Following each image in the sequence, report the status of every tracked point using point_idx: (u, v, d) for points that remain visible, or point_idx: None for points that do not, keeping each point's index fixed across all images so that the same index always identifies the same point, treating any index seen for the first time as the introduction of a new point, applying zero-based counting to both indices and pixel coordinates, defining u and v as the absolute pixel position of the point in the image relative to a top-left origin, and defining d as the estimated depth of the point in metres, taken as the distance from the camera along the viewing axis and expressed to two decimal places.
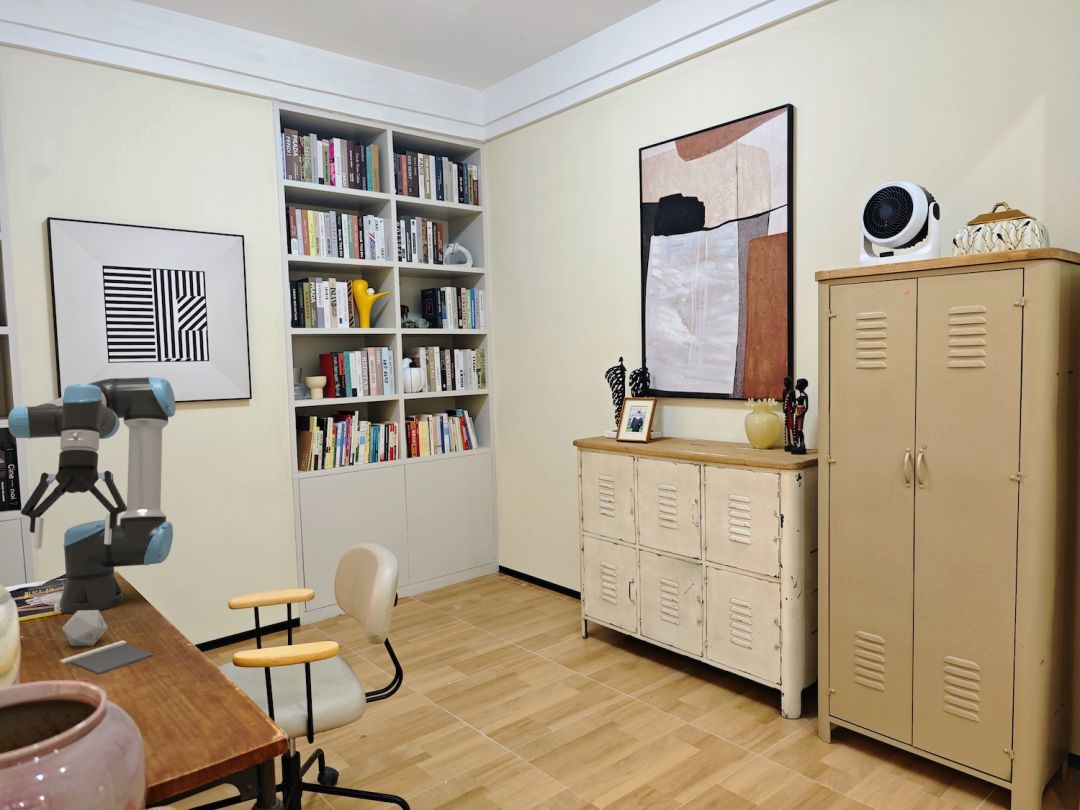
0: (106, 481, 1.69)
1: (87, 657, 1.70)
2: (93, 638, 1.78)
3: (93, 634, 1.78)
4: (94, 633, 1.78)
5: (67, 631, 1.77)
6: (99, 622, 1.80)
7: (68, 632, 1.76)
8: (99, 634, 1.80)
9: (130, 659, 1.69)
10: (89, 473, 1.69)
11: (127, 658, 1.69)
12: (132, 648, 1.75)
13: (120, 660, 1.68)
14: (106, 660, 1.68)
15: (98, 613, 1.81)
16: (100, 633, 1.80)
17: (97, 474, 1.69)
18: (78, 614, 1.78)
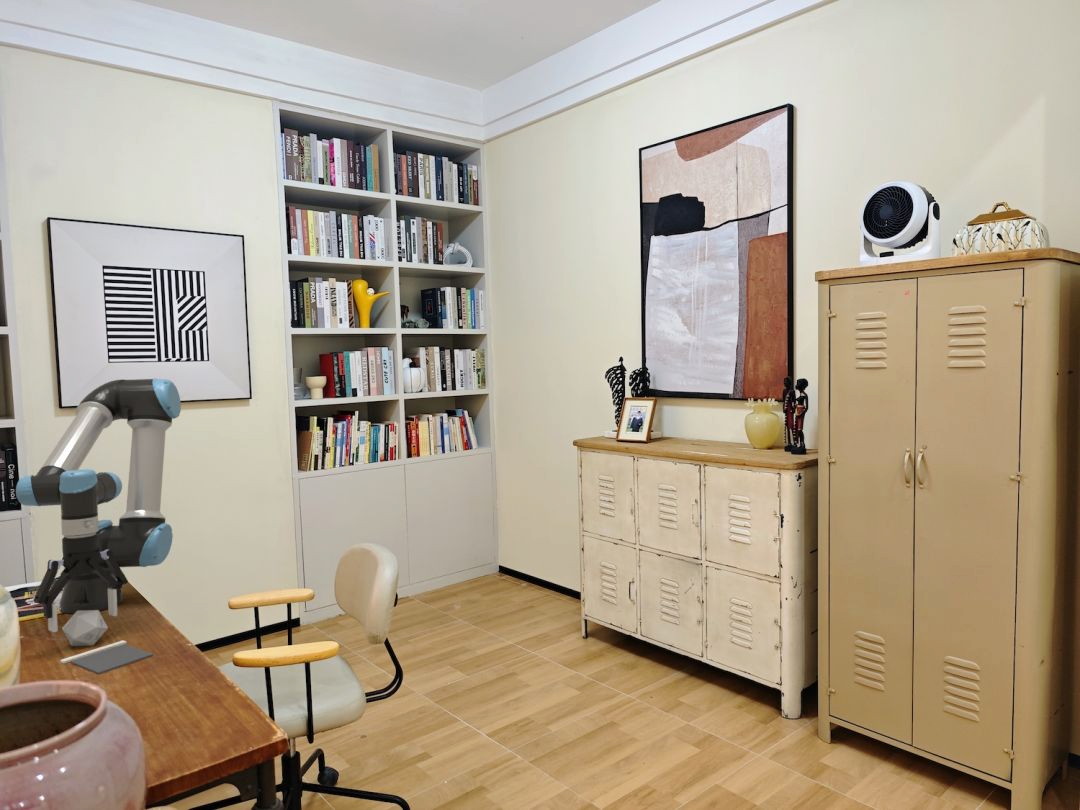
0: (110, 560, 1.84)
1: (87, 657, 1.70)
2: (93, 638, 1.78)
3: (93, 634, 1.78)
4: (94, 633, 1.78)
5: (67, 631, 1.77)
6: (99, 622, 1.80)
7: (68, 632, 1.76)
8: (99, 634, 1.80)
9: (130, 659, 1.69)
10: (95, 555, 1.81)
11: (127, 658, 1.69)
12: (132, 648, 1.75)
13: (120, 660, 1.68)
14: (106, 660, 1.68)
15: (98, 613, 1.81)
16: (100, 633, 1.80)
17: (100, 554, 1.82)
18: (78, 614, 1.78)
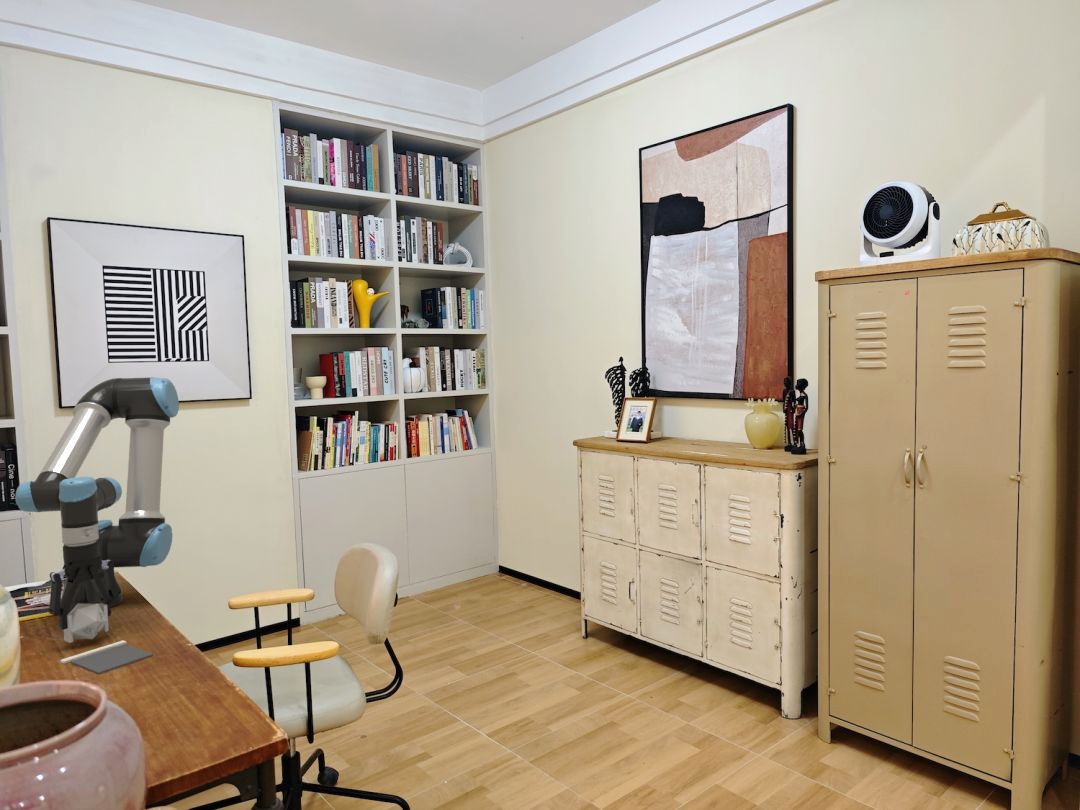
0: (109, 570, 1.84)
1: (87, 657, 1.70)
2: (92, 632, 1.78)
3: (92, 628, 1.78)
4: (93, 627, 1.78)
5: None
6: (98, 616, 1.80)
7: None
8: (99, 628, 1.80)
9: (130, 659, 1.69)
10: (96, 561, 1.81)
11: (127, 658, 1.69)
12: (132, 648, 1.75)
13: (120, 660, 1.68)
14: (106, 660, 1.68)
15: (98, 607, 1.81)
16: (100, 627, 1.80)
17: (102, 562, 1.82)
18: (78, 607, 1.79)
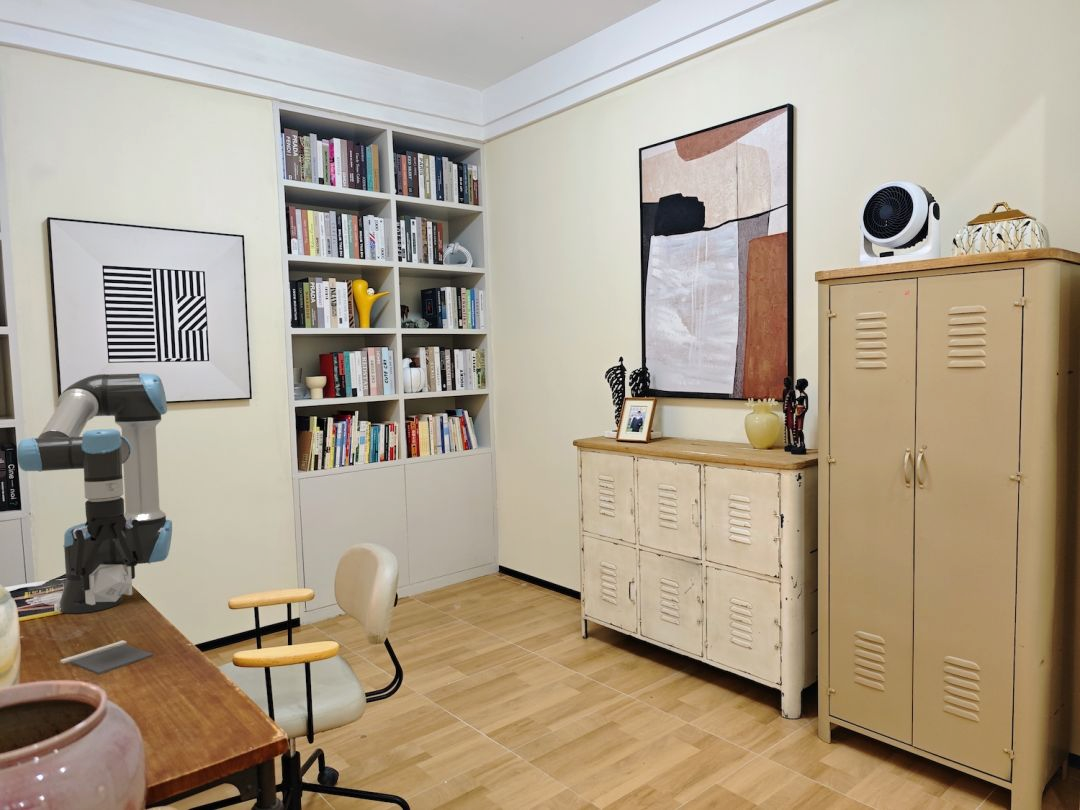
0: (133, 530, 1.72)
1: (87, 657, 1.70)
2: (116, 594, 1.67)
3: (116, 589, 1.66)
4: (117, 588, 1.67)
5: None
6: (122, 577, 1.68)
7: None
8: (122, 590, 1.68)
9: (130, 659, 1.69)
10: (120, 519, 1.70)
11: (127, 658, 1.69)
12: (132, 648, 1.75)
13: (120, 660, 1.68)
14: (106, 660, 1.68)
15: (121, 568, 1.69)
16: (123, 589, 1.69)
17: (126, 521, 1.71)
18: (100, 568, 1.67)
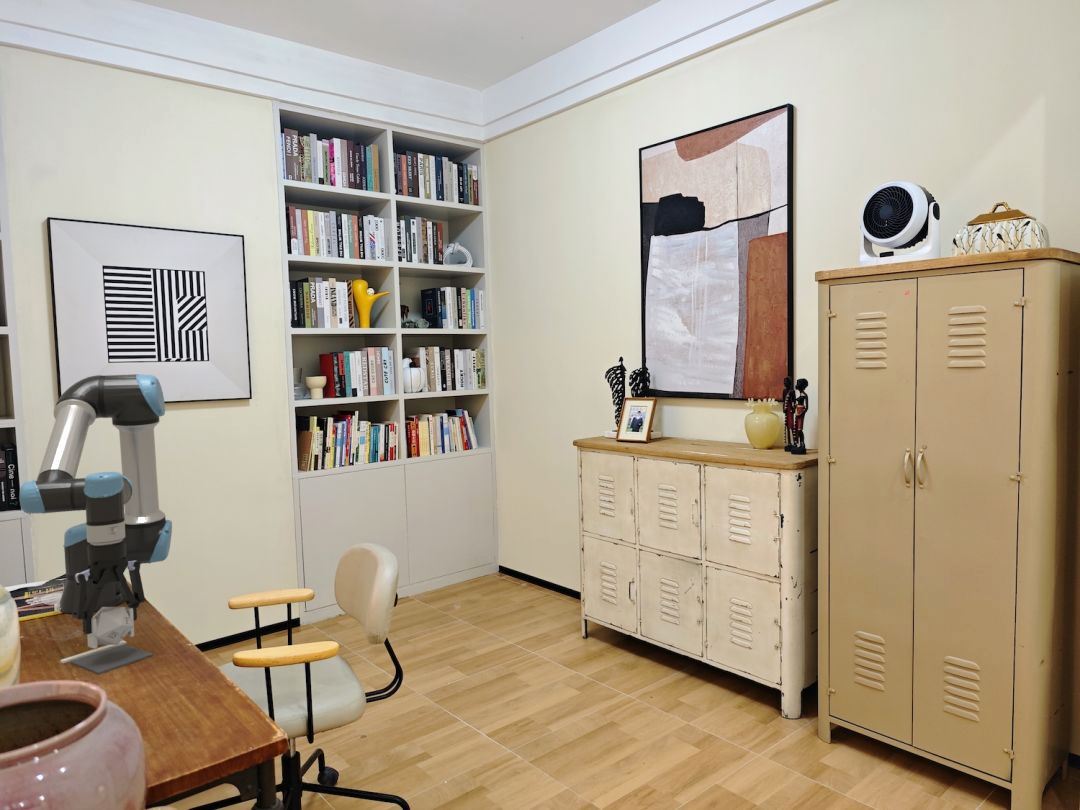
0: (135, 572, 1.73)
1: (87, 657, 1.70)
2: (118, 637, 1.67)
3: (118, 632, 1.67)
4: (119, 631, 1.67)
5: None
6: (124, 620, 1.69)
7: None
8: (124, 632, 1.69)
9: (130, 659, 1.69)
10: (122, 562, 1.70)
11: (127, 658, 1.69)
12: (132, 648, 1.75)
13: (120, 660, 1.68)
14: (106, 660, 1.68)
15: (123, 610, 1.70)
16: (125, 631, 1.69)
17: (128, 563, 1.72)
18: (102, 611, 1.68)
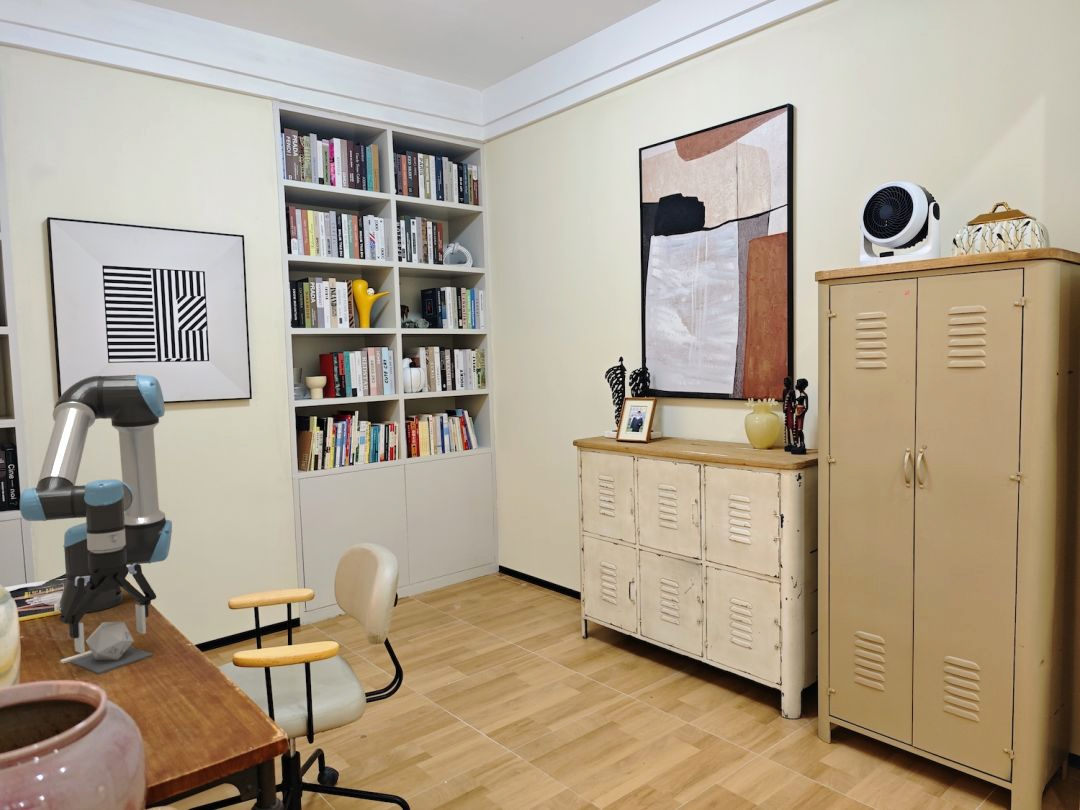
0: (138, 575, 1.73)
1: (87, 657, 1.70)
2: (118, 652, 1.68)
3: (118, 648, 1.67)
4: (119, 647, 1.67)
5: (91, 644, 1.66)
6: (124, 635, 1.69)
7: (92, 645, 1.66)
8: (124, 648, 1.69)
9: (130, 659, 1.69)
10: (122, 570, 1.70)
11: (127, 658, 1.69)
12: (132, 648, 1.75)
13: (120, 660, 1.68)
14: (106, 660, 1.68)
15: (123, 625, 1.70)
16: (125, 647, 1.70)
17: (128, 569, 1.72)
18: (102, 626, 1.68)
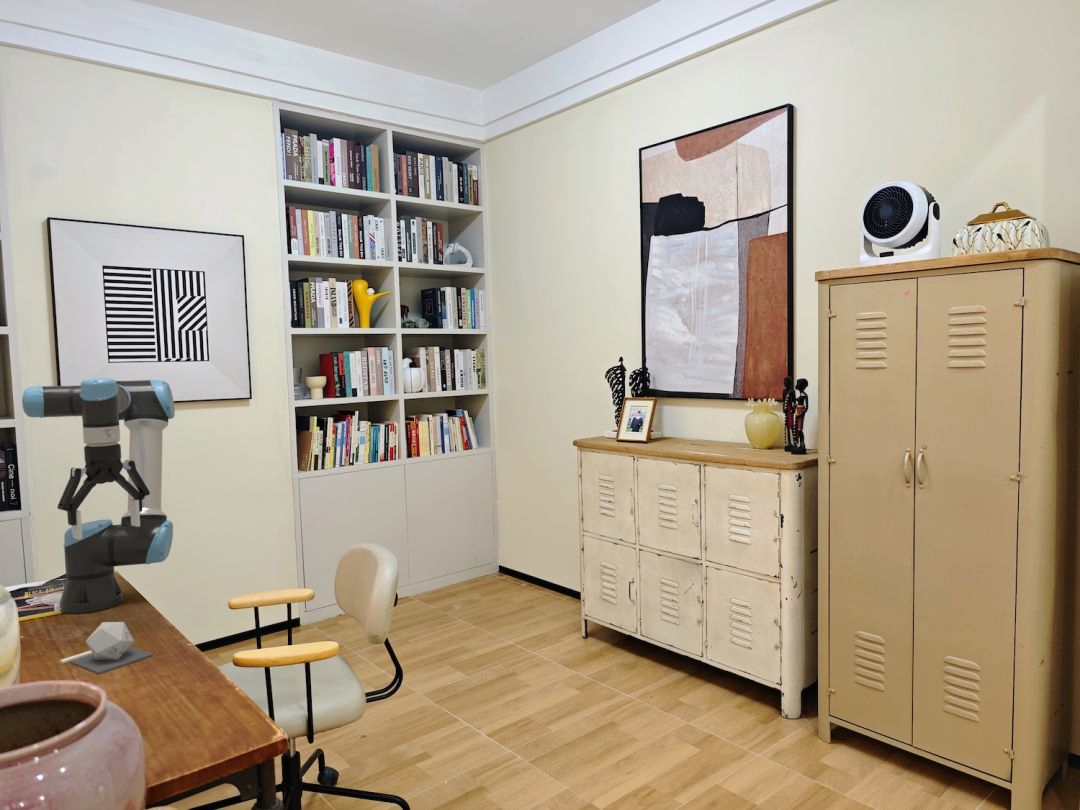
0: (132, 470, 1.82)
1: (87, 657, 1.70)
2: (118, 652, 1.68)
3: (118, 648, 1.67)
4: (119, 647, 1.67)
5: (91, 644, 1.66)
6: (124, 635, 1.69)
7: (92, 645, 1.66)
8: (124, 648, 1.69)
9: (130, 659, 1.69)
10: (117, 464, 1.79)
11: (127, 658, 1.69)
12: (132, 648, 1.75)
13: (120, 660, 1.68)
14: (106, 660, 1.68)
15: (123, 625, 1.70)
16: (125, 647, 1.70)
17: (122, 464, 1.81)
18: (102, 626, 1.68)
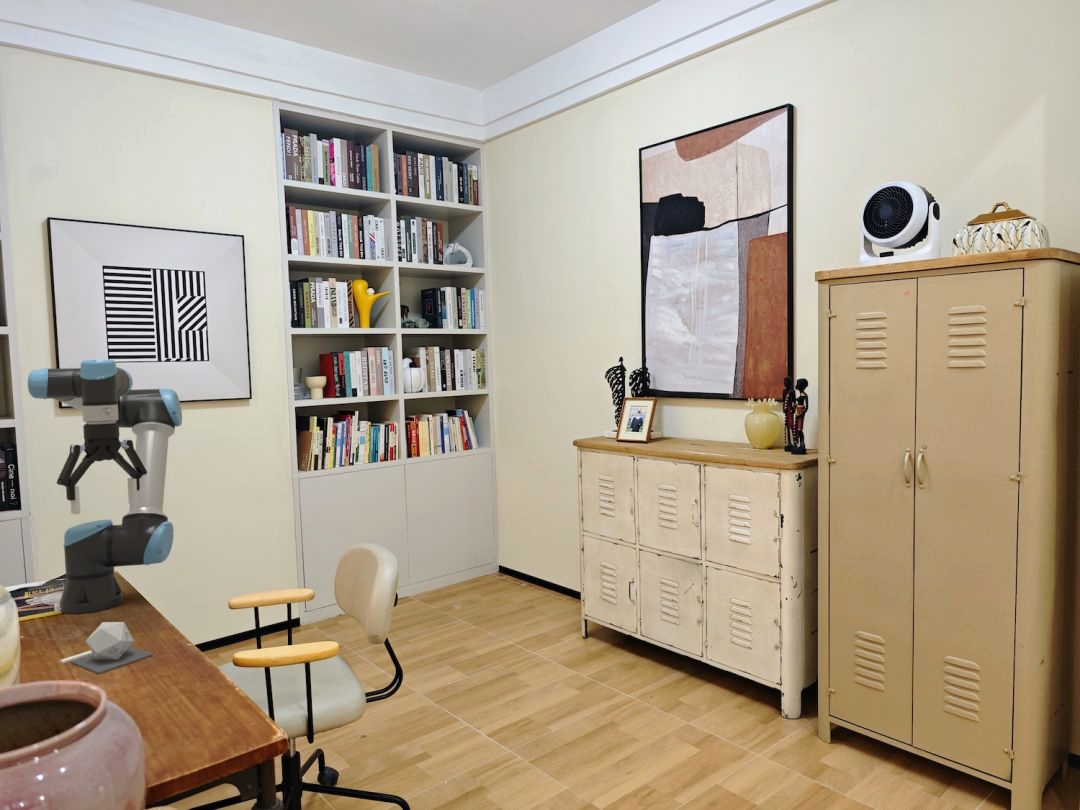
0: (130, 449, 1.87)
1: (87, 657, 1.70)
2: (118, 652, 1.68)
3: (118, 648, 1.67)
4: (119, 647, 1.67)
5: (91, 644, 1.66)
6: (124, 635, 1.69)
7: (92, 645, 1.66)
8: (124, 648, 1.69)
9: (130, 659, 1.69)
10: (115, 443, 1.84)
11: (127, 658, 1.69)
12: (132, 648, 1.75)
13: (120, 660, 1.68)
14: (106, 660, 1.68)
15: (123, 625, 1.70)
16: (125, 647, 1.70)
17: (120, 443, 1.86)
18: (102, 626, 1.68)
